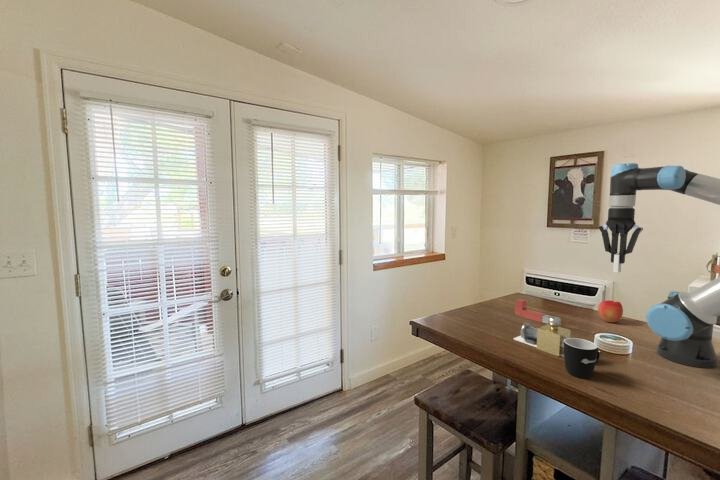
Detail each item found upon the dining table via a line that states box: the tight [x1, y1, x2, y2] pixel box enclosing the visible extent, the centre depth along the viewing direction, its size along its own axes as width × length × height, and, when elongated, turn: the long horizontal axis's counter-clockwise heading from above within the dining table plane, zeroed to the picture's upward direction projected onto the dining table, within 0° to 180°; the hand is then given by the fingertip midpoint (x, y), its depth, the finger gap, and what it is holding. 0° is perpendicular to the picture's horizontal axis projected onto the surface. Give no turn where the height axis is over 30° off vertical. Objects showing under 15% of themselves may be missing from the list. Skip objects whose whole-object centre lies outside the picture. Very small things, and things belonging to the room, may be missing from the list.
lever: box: [514, 298, 562, 327], centre depth 128 cm, size 17×4×6 cm, turn 31°
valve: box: [519, 322, 572, 357], centre depth 124 cm, size 22×8×10 cm, turn 34°
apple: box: [597, 299, 624, 323], centre depth 153 cm, size 10×10×10 cm
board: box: [513, 334, 601, 358], centre depth 128 cm, size 25×15×1 cm, turn 34°
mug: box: [563, 337, 601, 379], centre depth 107 cm, size 12×9×10 cm
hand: (616, 271), depth 122 cm, fingers closed
